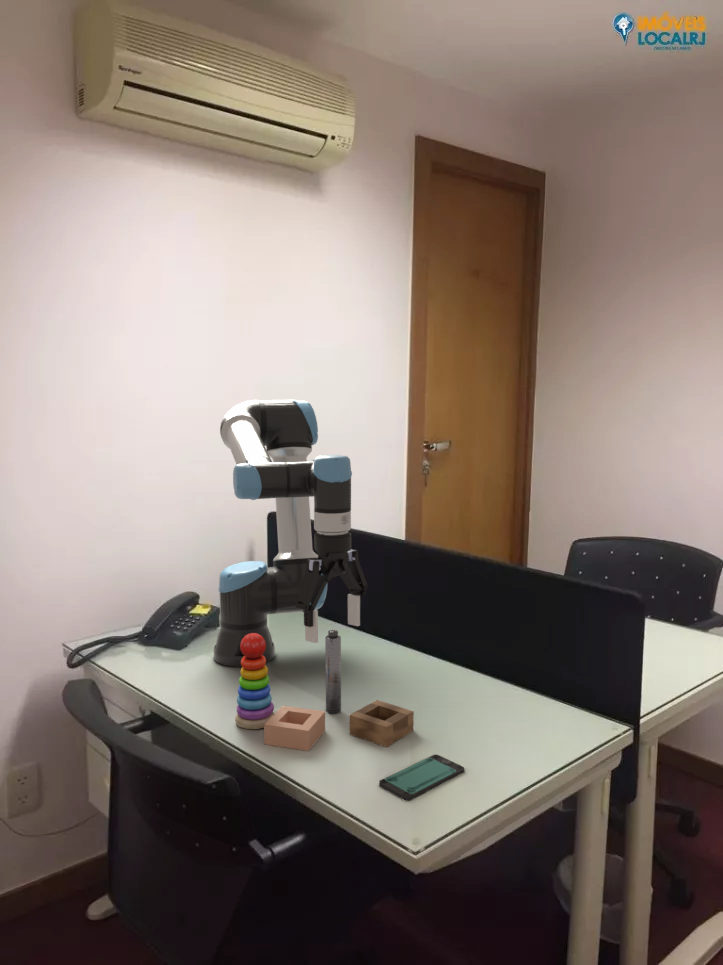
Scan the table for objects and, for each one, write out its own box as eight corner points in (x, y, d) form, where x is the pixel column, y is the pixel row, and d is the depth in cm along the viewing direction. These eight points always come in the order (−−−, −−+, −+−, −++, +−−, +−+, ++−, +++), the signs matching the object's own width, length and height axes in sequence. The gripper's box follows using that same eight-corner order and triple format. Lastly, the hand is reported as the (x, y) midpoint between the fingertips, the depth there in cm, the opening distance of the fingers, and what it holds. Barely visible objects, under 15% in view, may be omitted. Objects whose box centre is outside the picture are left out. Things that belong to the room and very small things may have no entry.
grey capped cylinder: (322, 711, 165) (322, 631, 163) (332, 706, 168) (332, 628, 165) (334, 715, 163) (334, 635, 161) (344, 709, 166) (343, 631, 163)
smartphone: (466, 766, 140) (407, 796, 130) (465, 773, 140) (407, 803, 130) (435, 752, 145) (376, 779, 135) (434, 758, 146) (376, 786, 136)
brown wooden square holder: (349, 734, 155) (349, 714, 154) (376, 718, 162) (377, 699, 161) (386, 747, 149) (386, 727, 149) (413, 730, 156) (413, 711, 156)
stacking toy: (231, 717, 162) (229, 629, 160) (269, 711, 165) (268, 625, 162) (239, 733, 155) (237, 641, 152) (279, 727, 158) (278, 636, 155)
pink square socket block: (264, 744, 150) (264, 724, 150) (283, 724, 159) (282, 705, 158) (308, 751, 148) (308, 730, 147) (325, 730, 156) (325, 711, 156)
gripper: (305, 543, 148) (307, 652, 151) (383, 524, 168) (383, 621, 170) (276, 538, 153) (278, 644, 155) (356, 521, 172) (356, 615, 175)
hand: (333, 632), depth 163 cm, fingers open, 13 cm apart
